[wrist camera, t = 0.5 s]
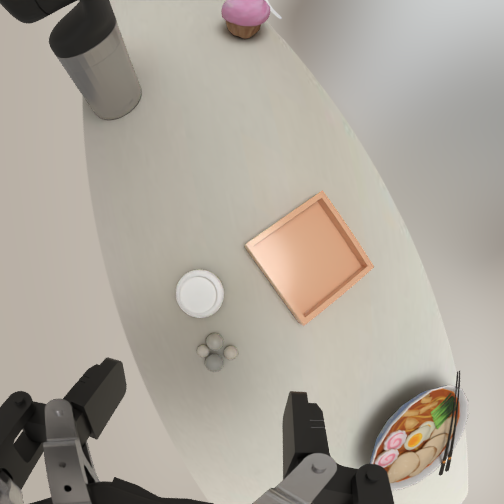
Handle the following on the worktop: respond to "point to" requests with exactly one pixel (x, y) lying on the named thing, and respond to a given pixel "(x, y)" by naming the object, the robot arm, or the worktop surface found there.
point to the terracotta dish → (310, 257)
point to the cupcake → (245, 16)
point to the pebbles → (215, 360)
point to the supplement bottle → (199, 293)
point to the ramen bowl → (421, 435)
